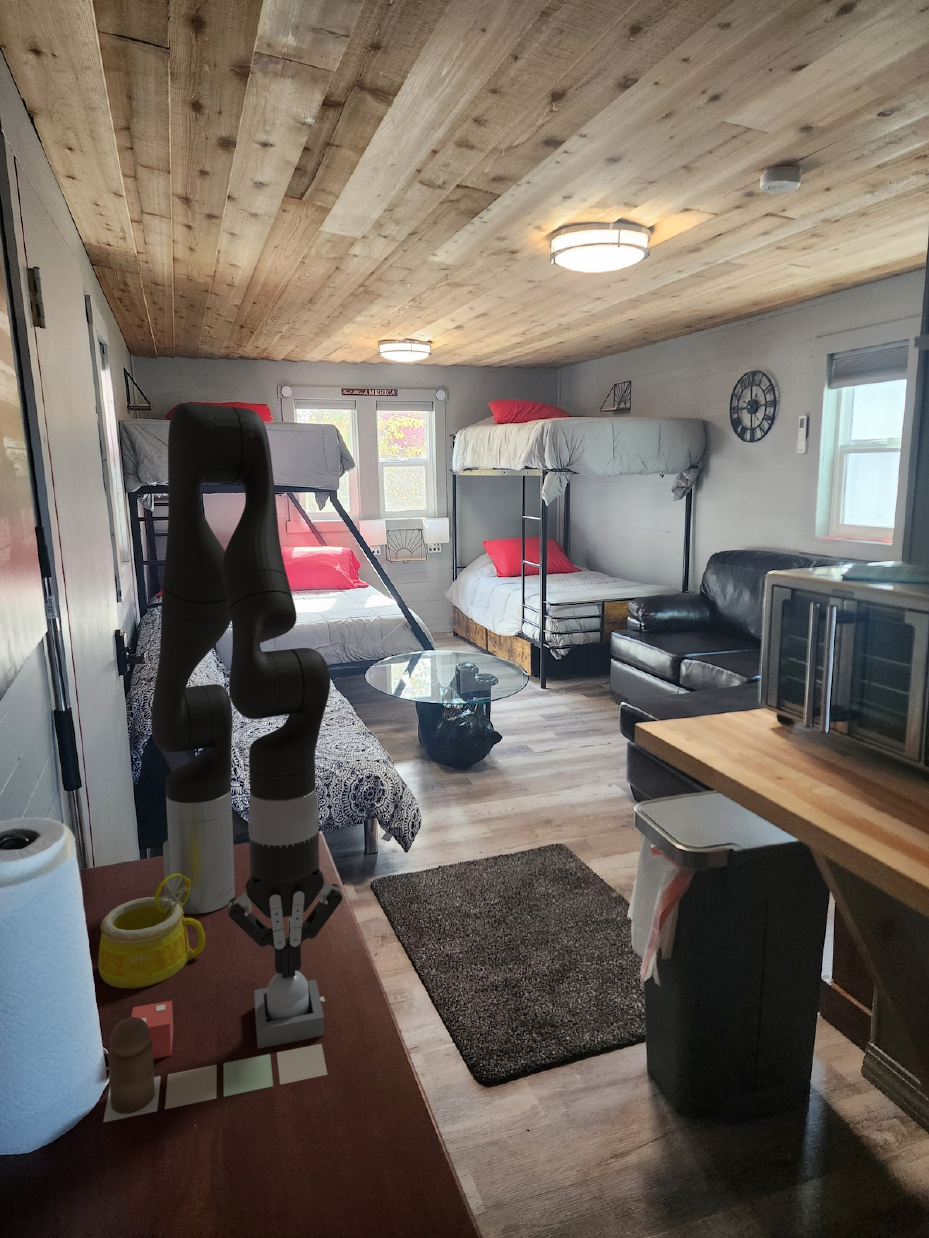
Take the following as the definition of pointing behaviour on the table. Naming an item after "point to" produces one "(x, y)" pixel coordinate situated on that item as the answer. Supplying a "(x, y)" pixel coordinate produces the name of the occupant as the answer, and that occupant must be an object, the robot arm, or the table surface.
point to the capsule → (287, 997)
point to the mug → (147, 939)
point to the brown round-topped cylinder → (131, 1066)
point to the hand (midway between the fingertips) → (287, 972)
